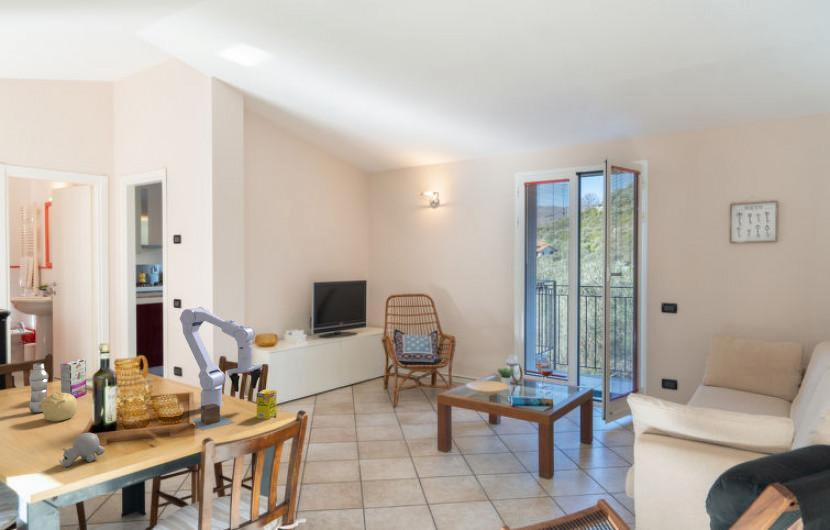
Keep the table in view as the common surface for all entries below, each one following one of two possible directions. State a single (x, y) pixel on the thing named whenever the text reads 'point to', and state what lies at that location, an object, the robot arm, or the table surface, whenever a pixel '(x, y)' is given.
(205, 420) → the walnut cap
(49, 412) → the pale yellow round lump
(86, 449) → the chubby cartoon animal
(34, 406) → the plastic bottle
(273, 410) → the supplement box
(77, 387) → the candy bar box
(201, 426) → the slate board
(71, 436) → the table surface
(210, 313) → the robot arm
